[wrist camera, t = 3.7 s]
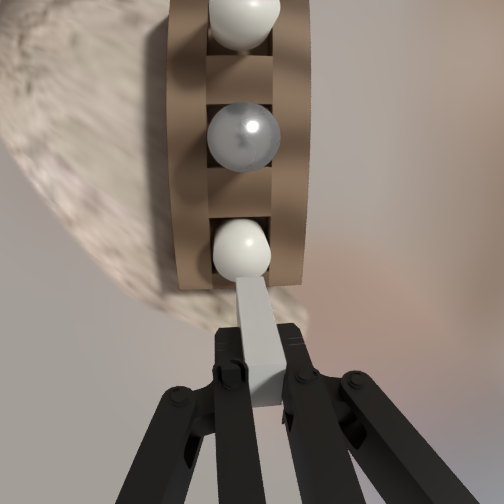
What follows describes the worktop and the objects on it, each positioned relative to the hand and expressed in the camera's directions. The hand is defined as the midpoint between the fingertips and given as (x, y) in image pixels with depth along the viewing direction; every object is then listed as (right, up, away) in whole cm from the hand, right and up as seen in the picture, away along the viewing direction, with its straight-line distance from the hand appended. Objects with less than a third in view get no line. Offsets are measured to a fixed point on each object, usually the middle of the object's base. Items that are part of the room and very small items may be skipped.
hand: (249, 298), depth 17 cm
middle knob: (-1, +11, +4) cm, 12 cm away
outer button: (-1, +4, +10) cm, 11 cm away
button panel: (-1, +13, +8) cm, 15 cm away
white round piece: (-1, +19, +1) cm, 19 cm away
